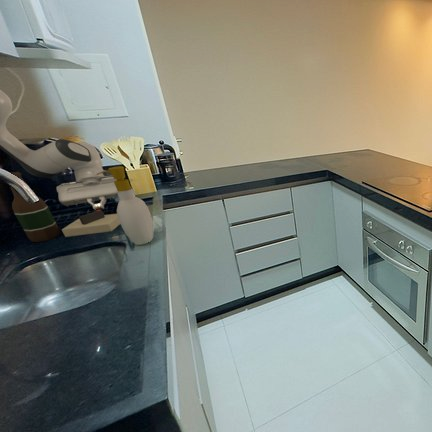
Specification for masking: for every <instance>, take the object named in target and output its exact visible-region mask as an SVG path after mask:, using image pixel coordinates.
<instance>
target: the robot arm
mask: <svg viewBox="0 0 432 432" xmlns="http://www.w3.org/2000/svg"><path fill="white" fill-rule="evenodd" d="M12 111H13V103H12V100H11V98H10V97H9V96H8V94H6V93H5V91H3V90H2V89H0V150H1V151H3V152H4V153H6V154H7V155H8V156H9V157H11V158H12V159H13V160H14V161H16V162H17V163H18V164H19V165H20V166H21V167H22V169H24V170H25V171H26V172H27V173H28V174H31V175H32V176H34V177H39V178H43V179H51V178H54V177H55V176H57V175H59V174H60V173H61V172H64V171H66V170H67V169H69V168H70V169H73V170H74V173H73V174H74V177H75V181H70V182H61V183H60V184H58V185H57V186H56V192H57V194H58V201H59V203H60V204H61V205H63V206H64V207H65V206H66V207H69V206H73V205H80V204H86V203H88V204H89V205H90V206H92V208H93V210H94V211H96V210H104V209H105V204H106V202H107V200H108V199H115V198H119V196H118V194H117V192H116V191H117V188H116V186H115V183H114V181H116V180H117V179H114V177H113V176H112V174H111V173H110V172H103V171H105V170H104V169H103V161H102V158H101V156H100V152H98V151H99V150H97V148H96V147H95V146H94V145H92V144H91V143H88V142H83V141H81V142H75V141H73V140H70V139H65V138H59V139H57V140H54V141H52V142H49V143H48V144H45V145H44V146H42V147H40V148H37V149H36V150H35V149H31V148H29V147H28V146H27V145H26V144H24V143H23V142H21V140H19V139H18V138H17V137H16V136H14V135H13V134H12V133H10V131H9V130H8V129H7V126H6V124H7V121H8V119H10V116H11V114H12ZM100 172H103V173H101V174H98V173H100ZM97 174H98V175H97ZM98 201H100V202H99V203H95V202H98Z"/></svg>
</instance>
